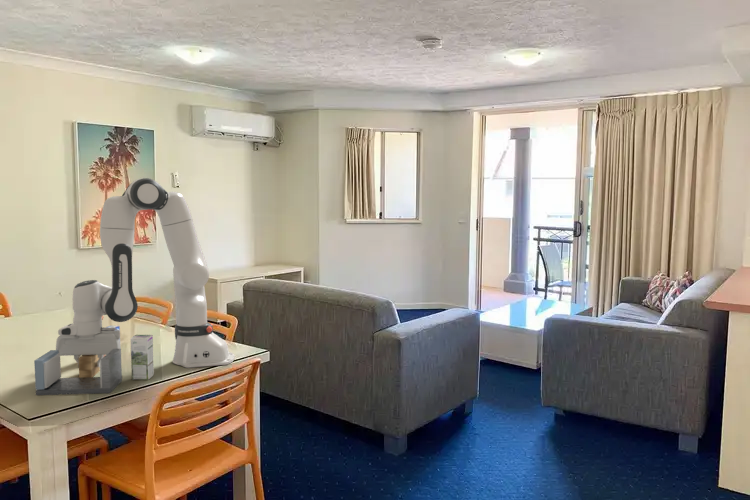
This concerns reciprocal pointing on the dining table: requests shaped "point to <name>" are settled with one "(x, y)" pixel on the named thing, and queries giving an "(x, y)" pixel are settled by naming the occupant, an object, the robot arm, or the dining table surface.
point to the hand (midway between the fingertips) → (89, 367)
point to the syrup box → (142, 357)
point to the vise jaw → (47, 369)
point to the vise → (90, 379)
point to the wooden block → (88, 366)
